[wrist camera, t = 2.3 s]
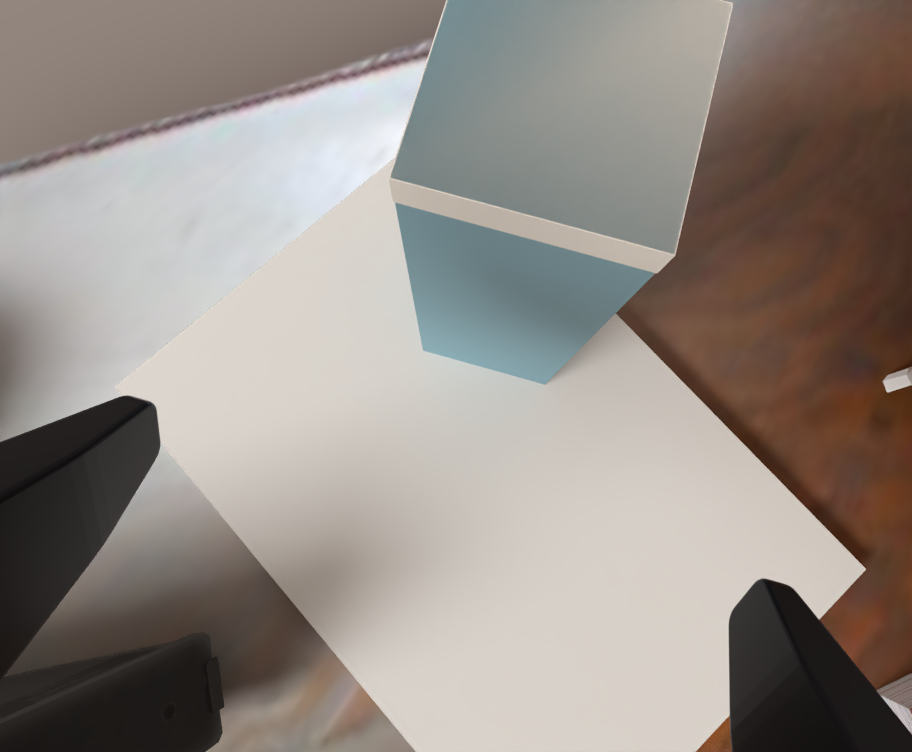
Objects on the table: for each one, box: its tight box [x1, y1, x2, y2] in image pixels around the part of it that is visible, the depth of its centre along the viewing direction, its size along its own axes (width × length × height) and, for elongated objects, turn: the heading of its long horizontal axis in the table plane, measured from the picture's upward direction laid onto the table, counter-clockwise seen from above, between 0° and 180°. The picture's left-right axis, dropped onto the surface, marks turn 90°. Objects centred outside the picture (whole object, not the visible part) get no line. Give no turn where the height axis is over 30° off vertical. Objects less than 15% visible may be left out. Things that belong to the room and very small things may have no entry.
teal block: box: [389, 0, 733, 385], centre depth 16 cm, size 4×4×12 cm
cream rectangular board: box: [115, 158, 866, 752], centre depth 21 cm, size 22×15×1 cm
